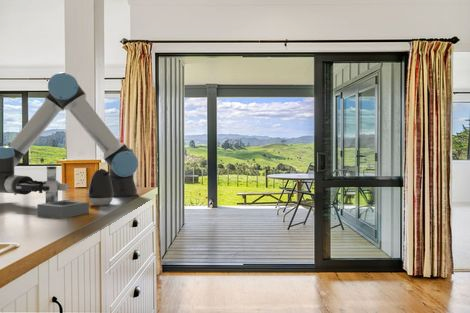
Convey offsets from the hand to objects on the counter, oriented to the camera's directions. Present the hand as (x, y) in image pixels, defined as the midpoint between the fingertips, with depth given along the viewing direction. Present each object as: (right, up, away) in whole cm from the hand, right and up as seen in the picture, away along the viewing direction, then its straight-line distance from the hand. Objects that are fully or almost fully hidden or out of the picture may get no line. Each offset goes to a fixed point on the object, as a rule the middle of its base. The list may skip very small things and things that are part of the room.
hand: (61, 188), depth 145 cm
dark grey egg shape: (+11, -8, +13) cm, 19 cm away
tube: (-5, -8, +2) cm, 10 cm away
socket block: (+5, -9, -8) cm, 13 cm away
